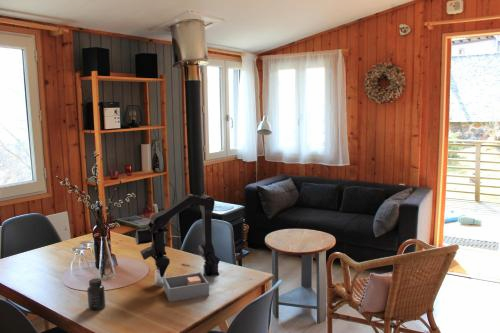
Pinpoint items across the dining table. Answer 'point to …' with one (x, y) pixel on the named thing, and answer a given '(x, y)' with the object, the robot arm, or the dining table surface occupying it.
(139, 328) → the dining table surface
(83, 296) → the dining table surface
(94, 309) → the supplement bottle
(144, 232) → the robot arm
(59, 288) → the dining table surface
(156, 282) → the aluminium cylinder
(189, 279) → the terracotta cube
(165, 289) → the tote
